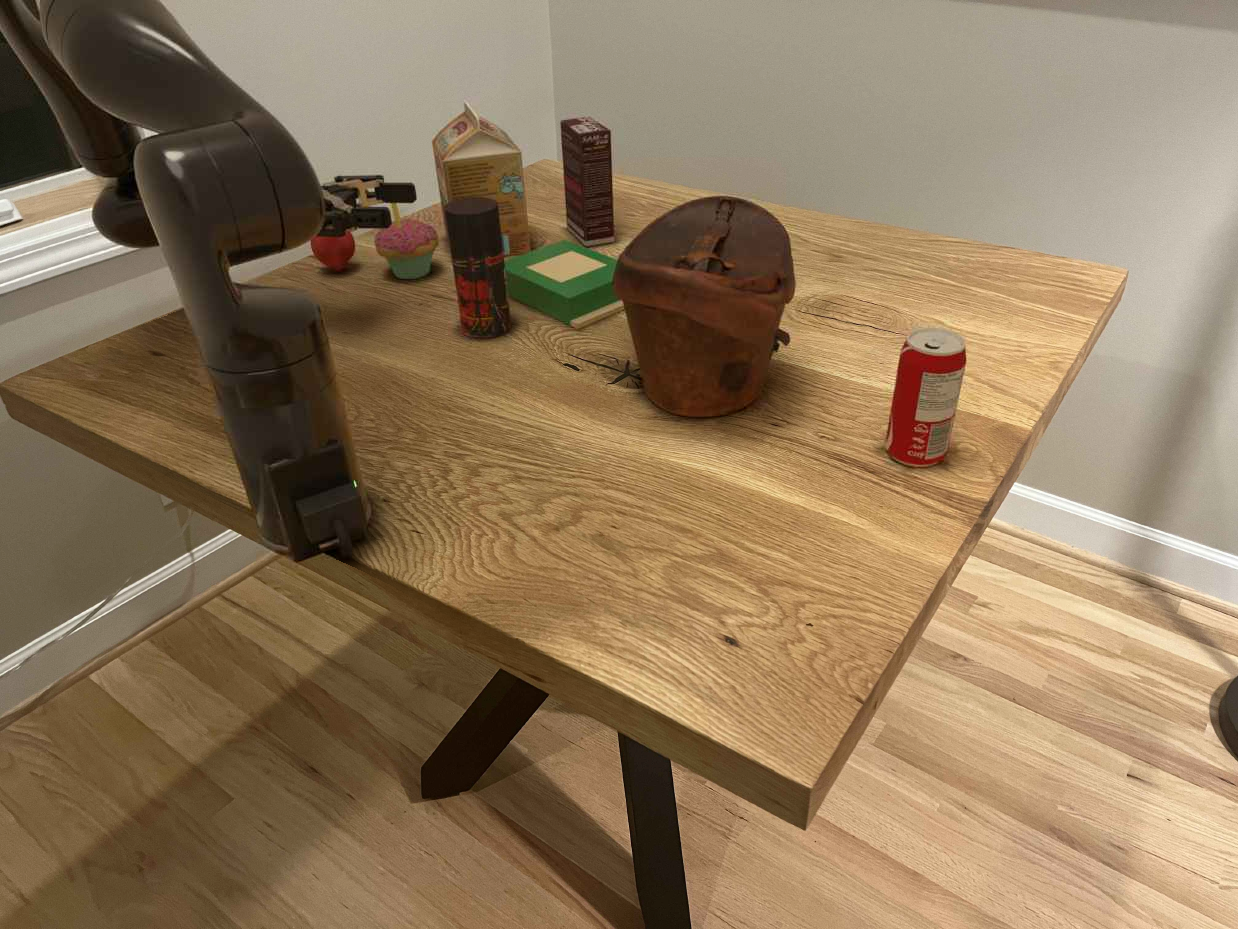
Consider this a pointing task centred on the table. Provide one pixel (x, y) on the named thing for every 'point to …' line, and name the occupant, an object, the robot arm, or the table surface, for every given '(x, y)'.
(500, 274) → the deodorant
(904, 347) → the soda can
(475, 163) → the milk carton
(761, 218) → the case
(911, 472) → the table surface
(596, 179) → the supplement box
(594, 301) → the green box
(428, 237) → the cupcake
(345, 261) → the onion
